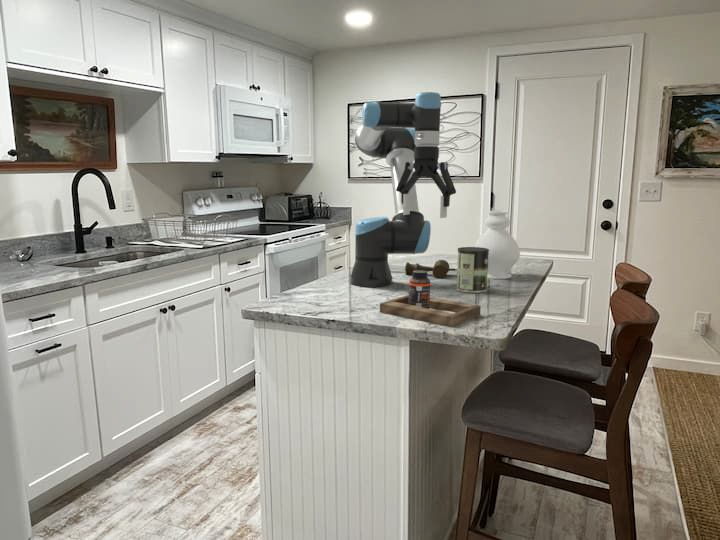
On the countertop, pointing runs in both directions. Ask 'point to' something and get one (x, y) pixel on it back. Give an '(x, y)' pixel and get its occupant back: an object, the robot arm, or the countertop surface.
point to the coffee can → (472, 269)
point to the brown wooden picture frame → (432, 310)
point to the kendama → (430, 268)
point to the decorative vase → (499, 245)
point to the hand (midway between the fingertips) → (424, 216)
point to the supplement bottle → (419, 289)
